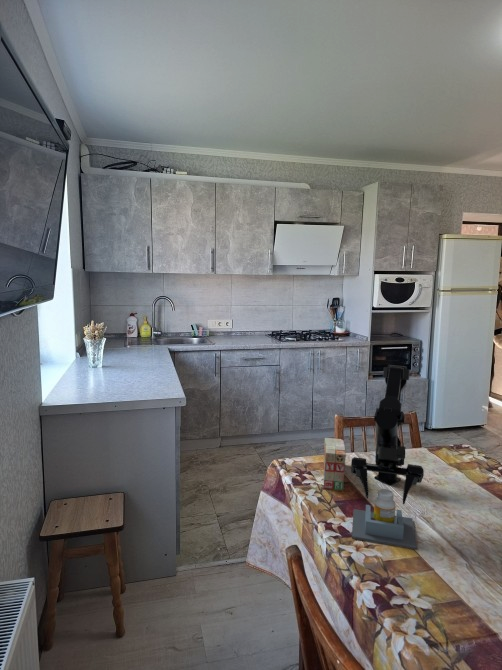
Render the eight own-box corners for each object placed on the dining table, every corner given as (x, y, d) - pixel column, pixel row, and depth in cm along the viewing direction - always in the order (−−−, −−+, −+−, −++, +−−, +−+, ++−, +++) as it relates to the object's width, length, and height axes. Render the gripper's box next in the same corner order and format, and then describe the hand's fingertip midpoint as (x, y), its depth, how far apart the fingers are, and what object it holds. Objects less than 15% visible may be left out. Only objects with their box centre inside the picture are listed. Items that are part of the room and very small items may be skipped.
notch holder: (353, 510, 126) (354, 497, 126) (412, 520, 122) (413, 506, 122) (351, 538, 113) (352, 523, 112) (417, 549, 109) (418, 534, 108)
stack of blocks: (323, 461, 160) (325, 429, 159) (340, 463, 159) (342, 430, 158) (323, 489, 140) (325, 452, 138) (343, 491, 139) (345, 453, 137)
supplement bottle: (372, 519, 121) (375, 486, 120) (393, 522, 120) (395, 489, 118) (373, 530, 116) (375, 495, 115) (394, 533, 115) (396, 498, 113)
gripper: (353, 429, 121) (349, 485, 111) (425, 437, 116) (427, 496, 107) (352, 446, 129) (349, 499, 120) (420, 454, 124) (421, 510, 115)
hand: (385, 501), depth 115 cm, fingers open, 9 cm apart
